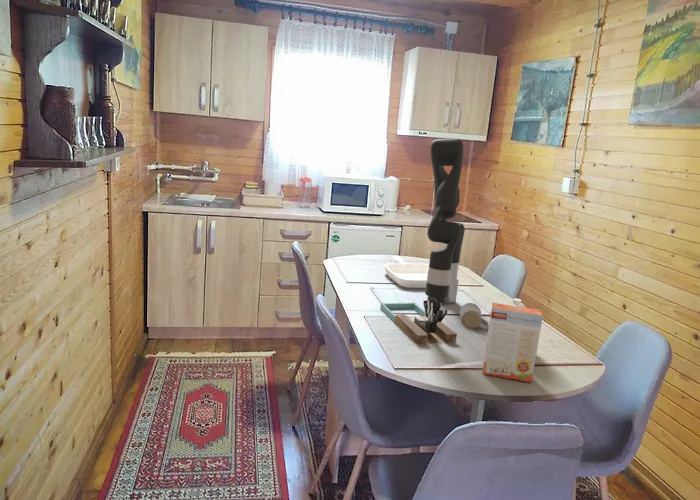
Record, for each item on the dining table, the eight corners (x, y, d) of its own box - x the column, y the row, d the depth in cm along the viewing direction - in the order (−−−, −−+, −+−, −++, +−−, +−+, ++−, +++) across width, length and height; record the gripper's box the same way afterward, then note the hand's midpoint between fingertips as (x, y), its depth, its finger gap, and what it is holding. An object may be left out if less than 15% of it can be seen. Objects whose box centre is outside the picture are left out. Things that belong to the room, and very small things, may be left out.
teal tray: (413, 310, 207) (414, 302, 207) (429, 323, 194) (430, 315, 194) (380, 310, 203) (380, 303, 202) (393, 324, 190) (394, 316, 189)
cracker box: (530, 375, 159) (542, 309, 154) (531, 384, 153) (543, 315, 149) (482, 366, 162) (492, 301, 157) (481, 374, 157) (492, 307, 152)
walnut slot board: (430, 323, 194) (431, 313, 193) (455, 345, 176) (456, 333, 176) (394, 325, 190) (395, 314, 189) (416, 347, 172) (418, 335, 171)
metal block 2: (429, 333, 182) (428, 321, 183) (436, 332, 179) (434, 320, 179) (419, 334, 180) (418, 322, 181) (426, 333, 177) (424, 321, 177)
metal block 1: (423, 326, 188) (425, 316, 187) (428, 331, 184) (429, 320, 183) (413, 327, 186) (414, 316, 185) (417, 331, 183) (419, 320, 182)
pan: (400, 290, 232) (401, 279, 231) (369, 263, 273) (369, 254, 272) (455, 289, 240) (457, 279, 239) (417, 264, 281) (418, 255, 280)
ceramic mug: (459, 328, 192) (463, 308, 191) (458, 320, 200) (461, 301, 199) (489, 332, 191) (493, 312, 189) (486, 324, 199) (490, 305, 197)
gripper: (458, 286, 169) (451, 339, 172) (438, 277, 181) (432, 325, 184) (437, 286, 166) (430, 339, 169) (418, 276, 179) (413, 326, 182)
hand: (431, 332), depth 177 cm, fingers closed
